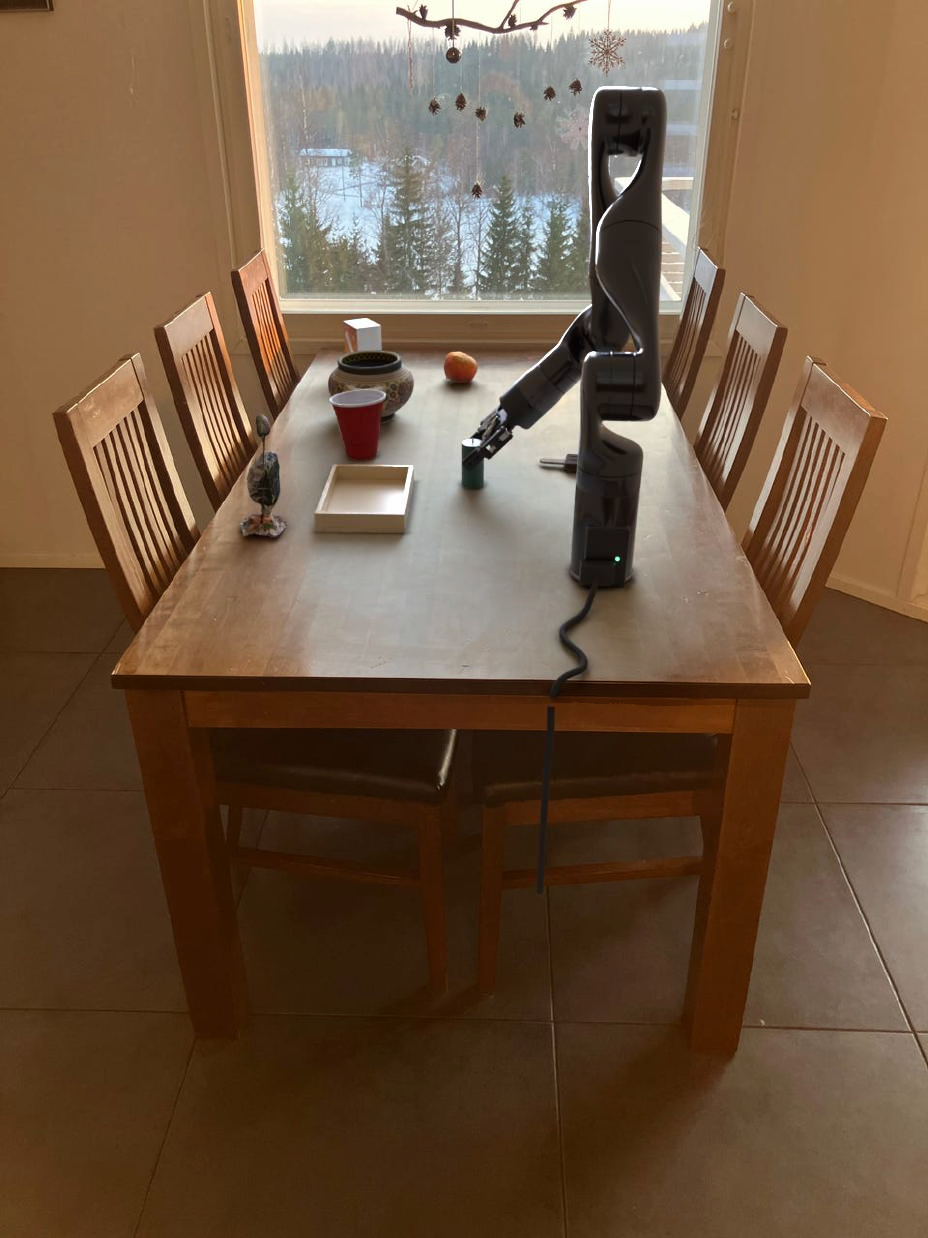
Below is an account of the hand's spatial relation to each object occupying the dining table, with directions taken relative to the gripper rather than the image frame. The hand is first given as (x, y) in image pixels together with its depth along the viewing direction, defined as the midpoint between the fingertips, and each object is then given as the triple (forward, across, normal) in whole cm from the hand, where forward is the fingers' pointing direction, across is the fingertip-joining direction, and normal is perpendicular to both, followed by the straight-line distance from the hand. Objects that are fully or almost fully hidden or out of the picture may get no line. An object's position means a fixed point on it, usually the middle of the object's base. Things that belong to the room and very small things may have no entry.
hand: (466, 457), depth 176 cm
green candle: (+3, 0, +4) cm, 5 cm away
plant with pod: (+27, +19, -20) cm, 38 cm away
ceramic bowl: (+18, -36, -11) cm, 42 cm away
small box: (+22, -65, -14) cm, 70 cm away
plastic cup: (+18, -14, -11) cm, 26 cm away
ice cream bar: (-11, -9, +19) cm, 24 cm away
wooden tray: (+15, +10, -8) cm, 20 cm away
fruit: (+6, -63, +2) cm, 63 cm away
